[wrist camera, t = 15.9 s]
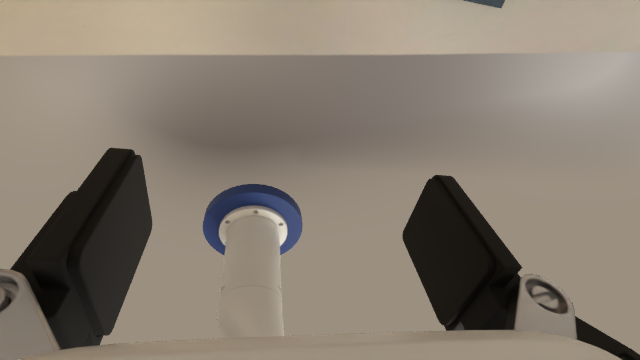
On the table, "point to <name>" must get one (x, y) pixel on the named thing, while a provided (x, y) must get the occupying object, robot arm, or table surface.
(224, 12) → the table surface
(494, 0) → the mat
